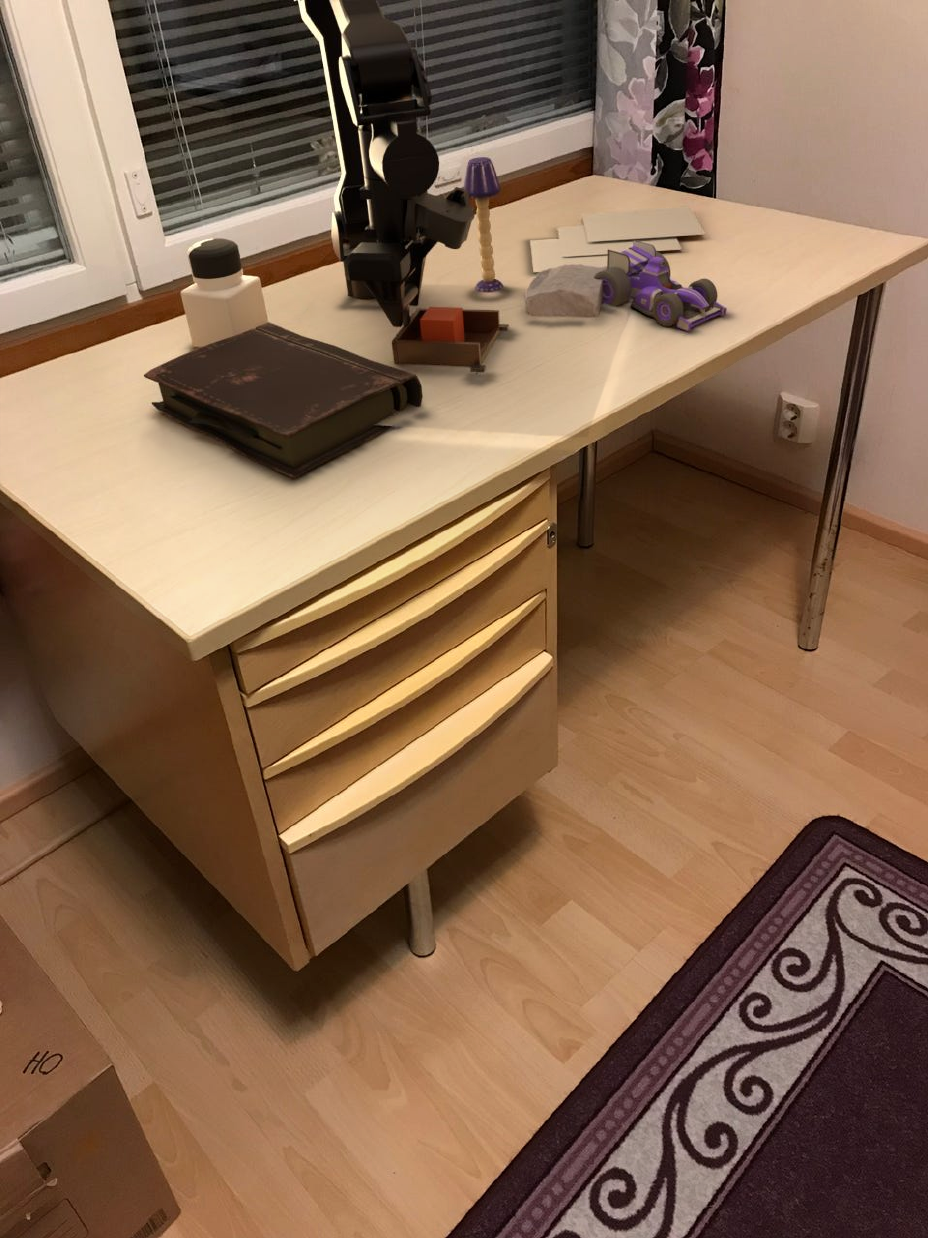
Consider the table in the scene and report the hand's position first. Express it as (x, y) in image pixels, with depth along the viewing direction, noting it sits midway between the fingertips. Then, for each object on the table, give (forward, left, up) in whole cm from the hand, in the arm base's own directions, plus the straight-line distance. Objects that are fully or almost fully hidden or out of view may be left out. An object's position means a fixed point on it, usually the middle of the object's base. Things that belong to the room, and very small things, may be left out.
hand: (405, 315), depth 116 cm
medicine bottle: (-24, +2, -5) cm, 25 cm away
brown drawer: (+5, 0, -5) cm, 7 cm away
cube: (+4, 0, -4) cm, 6 cm away
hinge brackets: (+10, 0, -5) cm, 11 cm away
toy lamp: (+5, +20, -5) cm, 21 cm away
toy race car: (+28, +16, -5) cm, 32 cm away
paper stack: (+19, +42, -5) cm, 46 cm away
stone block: (+16, +16, -5) cm, 23 cm away
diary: (-9, -17, -5) cm, 20 cm away
